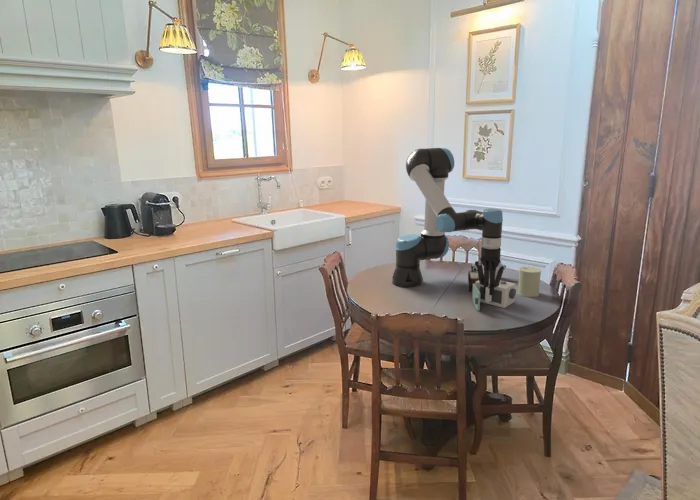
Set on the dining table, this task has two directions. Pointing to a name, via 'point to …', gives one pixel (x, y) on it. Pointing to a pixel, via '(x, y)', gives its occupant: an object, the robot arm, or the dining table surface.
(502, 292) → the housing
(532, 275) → the can
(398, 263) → the robot arm
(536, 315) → the dining table surface
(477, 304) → the side door
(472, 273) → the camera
